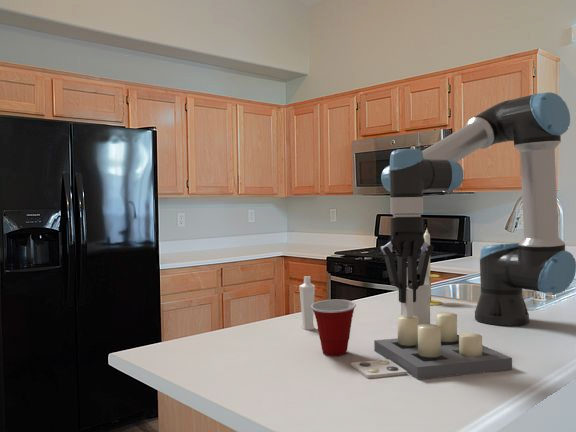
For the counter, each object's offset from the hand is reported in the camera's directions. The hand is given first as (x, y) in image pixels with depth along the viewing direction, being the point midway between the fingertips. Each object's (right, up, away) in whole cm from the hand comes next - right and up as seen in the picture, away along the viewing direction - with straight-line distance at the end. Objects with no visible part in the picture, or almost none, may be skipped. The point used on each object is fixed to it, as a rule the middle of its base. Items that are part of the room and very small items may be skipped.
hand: (407, 316), depth 123 cm
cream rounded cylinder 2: (+12, -9, -7) cm, 17 cm away
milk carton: (+5, -9, +14) cm, 17 cm away
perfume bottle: (-22, -9, +29) cm, 37 cm away
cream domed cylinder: (+3, -6, -10) cm, 12 cm away
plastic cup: (-17, -10, +3) cm, 20 cm away
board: (+6, -9, -3) cm, 12 cm away
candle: (+22, -8, +64) cm, 68 cm away
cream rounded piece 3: (0, -6, 0) cm, 6 cm away
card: (-9, -10, -10) cm, 16 cm away
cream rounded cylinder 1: (+10, -6, +3) cm, 12 cm away
